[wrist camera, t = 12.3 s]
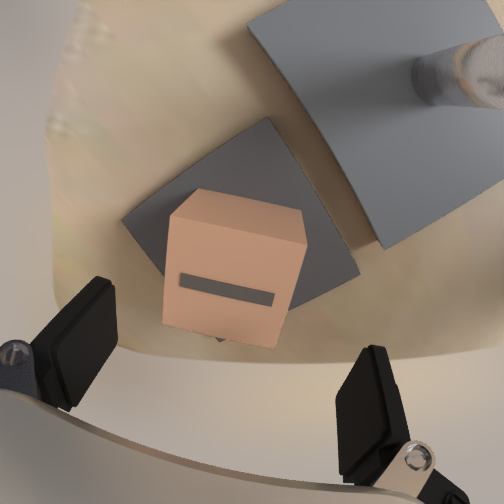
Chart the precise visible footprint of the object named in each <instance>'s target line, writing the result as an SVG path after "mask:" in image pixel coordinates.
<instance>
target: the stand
mask: <svg viewBox="0 0 504 504" xmlns="http://www.w3.org/2000/svg"><path fill="white" fill-rule="evenodd" d="M246 25H247V27H248V30H249V31H250V33H251V34H252V35H253V37H254V38H255V39H256V41H257V42H258V43H259V45H260V46H261V47H262V49H263V50H264V51H265V53H266V54H267V55H268V57H269V58H270V59H271V61H272V62H273V64H274V65H275V66H276V68H277V69H278V71H279V72H280V73H281V75H282V76H283V78H284V79H285V81H286V82H287V84H288V85H289V86H290V88H291V89H292V91H293V92H294V94H295V95H296V97H297V98H298V100H299V101H300V103H301V104H302V106H303V108H304V109H305V111H306V112H307V114H308V115H309V117H310V118H311V120H312V122H313V123H314V125H315V126H316V128H317V130H318V131H319V133H320V135H321V136H322V138H323V140H324V141H325V143H326V145H327V146H328V148H329V150H330V151H331V153H332V155H333V156H334V158H335V160H336V162H337V163H338V165H339V167H340V169H341V170H342V172H343V174H344V176H345V178H346V179H347V181H348V183H349V185H350V187H351V189H352V190H353V192H354V194H355V196H356V198H357V200H358V202H359V204H360V206H361V208H362V209H363V211H364V213H365V215H366V217H367V219H368V221H369V223H370V225H371V227H372V229H373V231H374V233H375V235H376V238H377V240H378V241H379V243H380V244H381V246H382V247H383V249H384V250H386V249H388V248H389V247H391V246H393V245H395V244H397V243H398V242H400V241H402V240H404V239H405V238H407V237H409V236H411V235H412V234H414V233H416V232H418V231H419V230H421V229H423V228H424V227H426V226H428V225H430V224H431V223H433V222H435V221H436V220H438V219H440V218H441V217H443V216H445V215H446V214H448V213H450V212H451V211H453V210H455V209H456V208H458V207H460V206H461V205H463V204H465V203H466V202H468V201H469V200H471V199H473V198H474V197H476V196H477V195H479V194H481V193H482V192H484V191H485V190H487V189H488V188H490V187H491V186H493V185H495V184H496V183H498V182H499V181H501V180H502V179H504V110H498V109H487V108H474V107H457V106H435V105H431V104H429V103H427V102H425V101H424V100H423V99H421V98H420V97H419V95H418V94H417V93H416V91H415V89H414V87H413V84H412V81H411V70H412V66H413V64H414V63H415V61H416V60H417V59H418V58H420V57H422V56H425V55H428V54H431V53H434V52H437V51H441V50H444V49H447V48H451V47H454V46H458V45H461V44H465V43H468V42H472V41H476V40H480V39H484V38H488V37H492V36H496V35H501V34H504V32H503V30H502V28H501V26H500V25H499V23H498V21H497V19H496V17H495V16H494V14H493V12H492V10H491V9H490V7H489V5H488V4H487V2H486V0H290V1H288V2H286V3H284V4H282V5H280V6H278V7H276V8H274V9H272V10H271V11H269V12H267V13H265V14H263V15H261V16H259V17H258V18H256V19H254V20H252V21H251V22H249V23H247V24H246Z"/></svg>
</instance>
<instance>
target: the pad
mask: <svg viewBox="0 0 504 504" xmlns="http://www.w3.org/2000/svg"><path fill="white" fill-rule="evenodd" d="M198 188H199V189H204V190H209V191H214V192H219V193H224V194H229V195H234V196H239V197H244V198H248V199H253V200H258V201H262V202H267V203H271V204H276V205H280V206H285V207H289V208H293V209H298V210H301V212H302V217H303V222H304V228H305V233H306V239H307V245H308V246H307V249H306V253H305V256H304V259H303V263H302V266H301V269H300V273H299V276H298V279H297V282H296V286H295V289H294V292H293V295H292V299H291V302H290V305H289V308H288V311H289V310H291V309H293V308H295V307H297V306H299V305H302V304H304V303H306V302H308V301H310V300H312V299H314V298H316V297H318V296H320V295H322V294H324V293H326V292H328V291H330V290H332V289H334V288H335V287H337V286H339V285H341V284H343V283H345V282H347V281H349V280H351V279H353V278H355V277H357V276H358V275H360V272H359V270H358V267H357V265H356V263H355V262H354V260H353V258H352V256H351V254H350V252H349V250H348V248H347V247H346V245H345V243H344V241H343V239H342V237H341V236H340V234H339V232H338V230H337V228H336V227H335V225H334V223H333V221H332V220H331V218H330V216H329V214H328V213H327V211H326V209H325V207H324V206H323V204H322V202H321V201H320V199H319V197H318V195H317V194H316V192H315V190H314V189H313V187H312V185H311V184H310V182H309V180H308V179H307V177H306V175H305V174H304V172H303V171H302V169H301V167H300V166H299V164H298V162H297V161H296V159H295V158H294V156H293V154H292V153H291V151H290V150H289V148H288V147H287V145H286V144H285V142H284V140H283V139H282V137H281V136H280V134H279V133H278V131H277V130H276V128H275V127H274V125H273V124H272V122H271V121H270V119H269V118H268V117H266V118H264V119H263V120H261V121H260V122H258V123H256V124H255V125H253V126H252V127H250V128H248V129H247V130H245V131H244V132H242V133H241V134H239V135H237V136H236V137H234V138H233V139H231V140H230V141H228V142H227V143H225V144H224V145H222V146H221V147H219V148H218V149H216V150H215V151H213V152H212V153H210V154H209V155H207V156H206V157H205V158H203V159H202V160H200V161H199V162H197V163H196V164H195V165H193V166H192V167H190V168H189V169H187V170H186V171H185V172H183V173H182V174H181V175H179V176H178V177H176V178H175V179H174V180H172V181H171V182H170V183H168V184H167V185H166V186H164V187H163V188H162V189H160V190H159V191H158V192H156V193H155V194H154V195H152V196H151V197H150V198H148V199H147V200H146V201H144V202H143V203H142V204H141V205H139V206H138V207H137V208H136V209H134V210H133V211H132V212H130V213H129V214H128V215H127V216H126V217H124V218H123V219H122V220H121V221H122V222H123V223H124V225H125V226H126V227H127V229H128V230H129V232H130V233H131V234H132V236H133V237H134V238H135V240H136V241H137V242H138V244H139V245H140V246H141V247H142V249H143V250H144V251H145V253H146V254H147V255H148V257H149V258H150V259H151V260H152V262H153V263H154V264H155V266H156V267H157V268H158V269H159V271H160V272H161V273H162V274H163V276H164V277H165V267H166V254H167V243H168V232H169V222H170V215H171V214H172V213H173V212H174V211H175V210H176V209H177V208H178V207H179V206H180V205H181V204H182V203H184V202H185V201H186V200H187V199H188V198H189V197H190V196H191V195H192V194H193V193H194V192H195V191H196V190H197V189H198ZM215 338H216V339H217V340H218V341H219V342H222V341H224V340H226V339H222V338H217V337H215Z"/></svg>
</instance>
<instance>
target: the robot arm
mask: <svg viewBox="0 0 504 504" xmlns="http://www.w3.org/2000/svg"><path fill="white" fill-rule="evenodd" d="M117 341H118V333H117V318H116V300H115V286H114V285H112V282H111V281H110V280H108V279H105V278H102V277H99V276H96V277H94V278H93V279H92V280H91V281H90V282H89V283H88V284H87V285H86V286H85V287H84V288H83V289H82V290H81V291H80V292H79V293H78V294H77V295H76V296H75V297H74V298H73V299H72V300H71V301H70V302H69V303H68V304H67V305H66V306H65V307H64V308H63V309H62V310H61V311H60V312H59V313H58V314H57V315H56V316H55V317H54V318H53V319H52V320H51V321H50V322H49V323H48V325H47V326H46V327H45V328H44V329H43V330H42V331H41V332H40V333H39V334H38V335H37V337H36V338H35V339H34V340H33V341H32V342H31V343H30V344H28V343H27V342H25V341H22V340H10V341H8V342H6V343H4V344H3V345H2V346H0V504H470V502H469V499H468V496H467V495H466V494H465V493H464V491H462V490H461V489H460V488H458V487H457V486H456V485H454V484H453V483H452V482H451V481H449V480H448V479H447V478H446V477H444V476H443V475H442V474H440V473H439V472H438V471H436V470H435V469H434V466H435V455H434V453H433V451H432V450H431V448H430V447H429V446H428V445H427V444H425V443H423V442H421V441H411V439H410V434H409V430H408V426H407V421H406V417H405V413H404V409H403V405H402V401H401V397H400V393H399V389H398V386H397V385H396V384H395V380H394V376H393V372H392V369H391V365H390V361H389V358H388V354H387V351H386V348H385V347H382V346H376V345H369V346H368V348H363V350H362V352H361V353H360V355H359V357H358V359H357V361H356V362H355V364H354V366H353V368H352V369H351V371H350V373H349V375H348V376H347V378H346V380H345V381H344V383H343V385H342V386H341V388H340V390H339V391H338V393H337V395H336V401H335V403H336V418H337V435H338V458H339V474H340V475H343V483H354V485H338V484H325V483H314V482H304V481H295V480H287V479H280V478H273V477H266V476H259V475H255V474H249V473H244V472H239V471H234V470H229V469H225V468H220V467H216V466H212V465H208V464H204V463H200V462H196V461H192V460H189V459H185V458H181V457H178V456H175V455H172V454H168V453H165V452H162V451H159V450H156V449H153V448H150V447H147V446H144V445H141V444H138V443H136V442H133V441H130V440H128V439H125V438H122V437H120V436H117V435H115V434H112V433H110V432H107V431H105V430H103V429H100V428H98V427H96V426H93V425H91V424H89V423H86V422H84V421H82V420H80V419H78V418H75V417H73V416H71V415H69V414H67V413H65V412H63V411H61V410H59V409H58V407H59V408H61V409H63V410H65V411H67V412H70V410H71V408H72V407H76V406H77V405H78V404H79V402H80V401H81V399H82V398H83V396H84V394H85V393H86V391H87V389H88V388H89V386H90V385H91V383H92V382H93V380H94V379H95V377H96V376H97V374H98V372H99V371H100V369H101V368H102V366H103V365H104V363H105V362H106V360H107V359H108V357H109V356H110V354H111V353H112V351H113V350H114V348H115V347H116V345H117Z"/></svg>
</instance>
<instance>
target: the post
mask: <svg viewBox="0 0 504 504" xmlns="http://www.w3.org/2000/svg"><path fill="white" fill-rule="evenodd" d="M411 81H412V84H413V87H414V89H415V91H416V93H417V94H418V95H419V97H420V98H421V99H423V100H424V101H425V102H427V103H429V104H431V105H435V106H457V107H474V108H487V109H498V110H504V34H501V35H496V36H492V37H488V38H484V39H480V40H476V41H472V42H468V43H465V44H461V45H458V46H454V47H451V48H447V49H444V50H441V51H437V52H434V53H431V54H428V55H425V56H422V57H420V58H418V59H417V60H416V61H415V63H414V64H413V66H412V70H411Z"/></svg>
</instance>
